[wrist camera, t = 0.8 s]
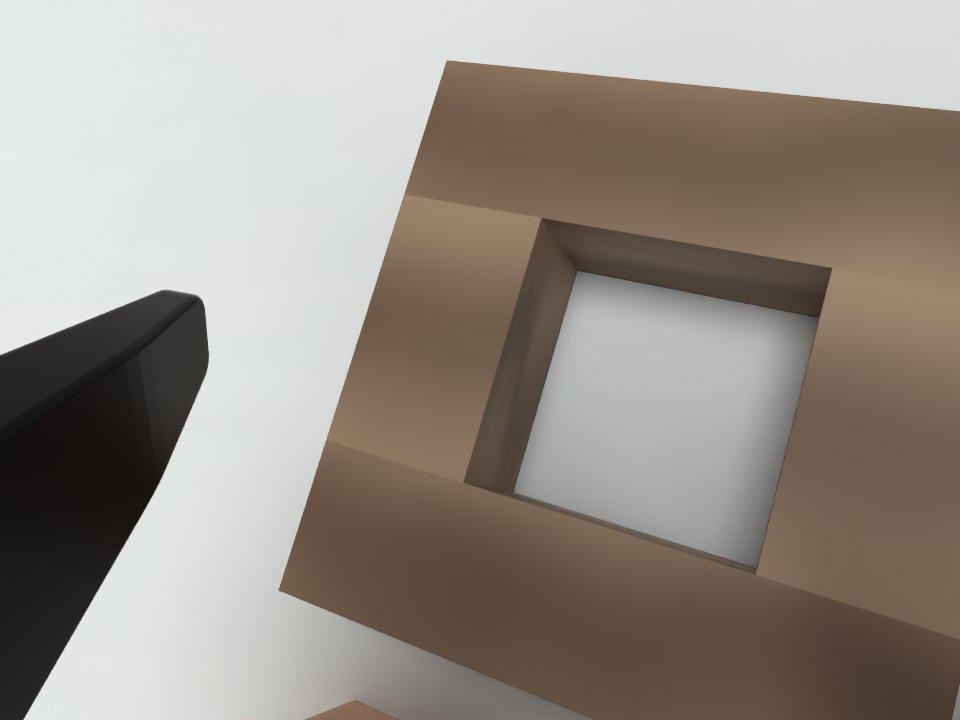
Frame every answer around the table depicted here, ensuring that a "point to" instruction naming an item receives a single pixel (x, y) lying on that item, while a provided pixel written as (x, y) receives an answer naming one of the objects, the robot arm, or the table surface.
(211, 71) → the table surface
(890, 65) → the table surface
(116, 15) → the table surface
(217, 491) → the table surface
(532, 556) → the socket block
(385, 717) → the peg
